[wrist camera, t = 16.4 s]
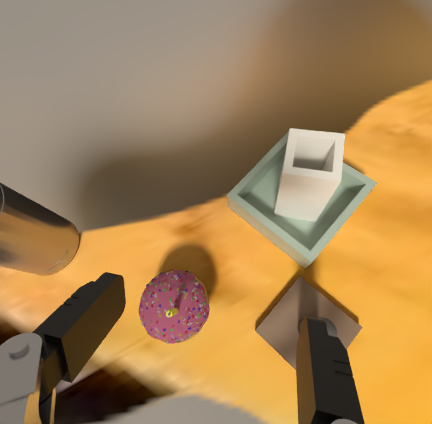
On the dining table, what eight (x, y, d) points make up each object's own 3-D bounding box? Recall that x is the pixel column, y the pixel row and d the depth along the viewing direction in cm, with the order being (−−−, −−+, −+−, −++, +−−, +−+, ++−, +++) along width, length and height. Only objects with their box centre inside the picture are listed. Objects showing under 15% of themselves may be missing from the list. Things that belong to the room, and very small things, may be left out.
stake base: (255, 330, 35) (256, 333, 26) (298, 277, 37) (312, 264, 28) (314, 387, 32) (337, 411, 23) (358, 327, 34) (394, 328, 25)
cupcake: (226, 301, 37) (215, 293, 26) (185, 356, 35) (154, 372, 24) (180, 263, 39) (152, 240, 28) (139, 312, 37) (93, 307, 26)
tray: (229, 207, 42) (226, 195, 38) (286, 147, 44) (290, 129, 40) (305, 269, 37) (312, 262, 33) (364, 197, 40) (377, 182, 36)
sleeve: (273, 214, 39) (282, 173, 28) (279, 179, 41) (289, 128, 30) (315, 221, 38) (341, 181, 27) (319, 185, 40) (345, 133, 29)
